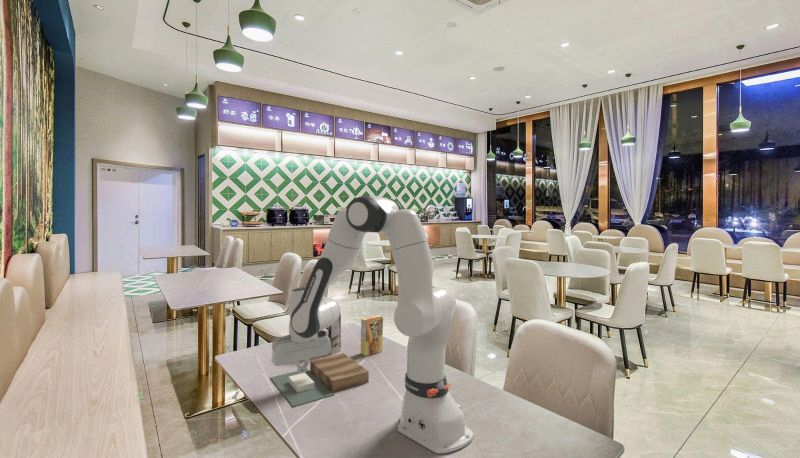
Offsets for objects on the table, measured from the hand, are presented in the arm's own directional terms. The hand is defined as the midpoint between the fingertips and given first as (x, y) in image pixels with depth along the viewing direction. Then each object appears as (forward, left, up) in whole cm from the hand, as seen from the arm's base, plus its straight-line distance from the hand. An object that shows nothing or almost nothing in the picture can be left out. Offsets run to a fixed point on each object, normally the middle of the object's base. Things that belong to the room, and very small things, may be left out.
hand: (302, 371), depth 137 cm
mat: (0, 0, -5) cm, 5 cm away
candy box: (+13, -36, -5) cm, 39 cm away
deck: (0, -14, -5) cm, 15 cm away
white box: (0, 0, -3) cm, 3 cm away
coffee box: (+25, -22, -5) cm, 34 cm away
